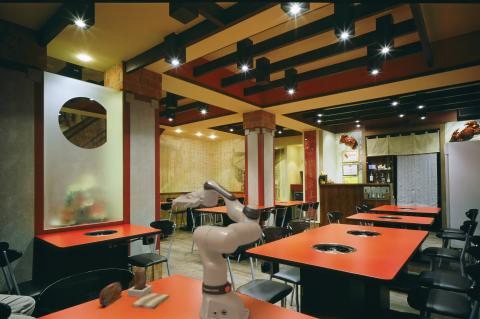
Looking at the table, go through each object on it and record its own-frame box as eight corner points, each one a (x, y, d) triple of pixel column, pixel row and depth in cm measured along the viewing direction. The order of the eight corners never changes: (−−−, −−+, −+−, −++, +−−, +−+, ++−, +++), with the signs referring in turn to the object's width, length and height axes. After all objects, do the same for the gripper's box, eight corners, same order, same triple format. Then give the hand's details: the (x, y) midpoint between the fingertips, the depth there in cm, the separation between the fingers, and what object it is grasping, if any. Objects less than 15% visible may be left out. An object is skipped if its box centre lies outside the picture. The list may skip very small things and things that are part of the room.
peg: (145, 292, 154) (145, 269, 155) (141, 295, 151) (141, 272, 152) (139, 291, 155) (139, 269, 156) (134, 294, 152) (134, 271, 153)
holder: (152, 291, 156) (152, 285, 156) (142, 297, 148) (142, 291, 148) (137, 289, 159) (137, 284, 159) (127, 295, 150) (127, 290, 150)
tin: (103, 308, 135) (103, 290, 136) (97, 308, 136) (98, 290, 136) (122, 296, 150) (122, 279, 150) (117, 295, 150) (117, 279, 151)
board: (169, 297, 147) (169, 294, 148) (154, 309, 134) (154, 306, 134) (148, 295, 151) (148, 292, 151) (132, 306, 137) (132, 303, 137)
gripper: (205, 204, 181) (191, 212, 169) (182, 203, 192) (167, 211, 180) (203, 195, 180) (189, 202, 168) (180, 194, 191) (165, 201, 179)
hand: (177, 207), depth 174 cm, fingers open, 8 cm apart
